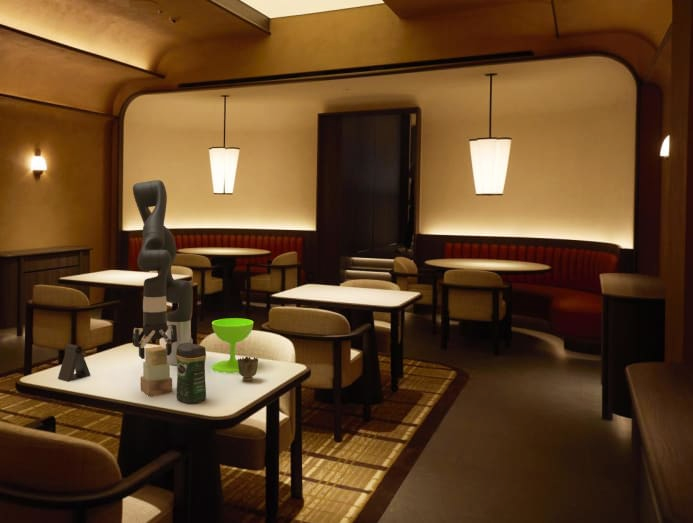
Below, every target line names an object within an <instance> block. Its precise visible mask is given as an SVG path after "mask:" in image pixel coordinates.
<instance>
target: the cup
mask: <svg viewBox="0 0 693 523" xmlns="http://www.w3.org/2000/svg"><path fill="white" fill-rule="evenodd" d="M237 360H238V368H239V375H240V376H241V377H242V380H243V382H246V381H249V382H252V381H253V380H254V376H256V374H257V371H258V366H259V358H258V357H255V356H254V357H253V358H251V357H250V356H249V357H248V356H245V357H239V358H238V359H237Z"/></svg>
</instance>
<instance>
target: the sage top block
mask: <svg viewBox="0 0 693 523" xmlns="http://www.w3.org/2000/svg"><path fill="white" fill-rule="evenodd" d="M142 364H143V366H142V368H143V374H142V376H144V377H145V378H146V379H147V381H148V382H149V381H156V380H164V379H170V377H171V376H170V372H171V371H170V370H171V368H170V367H171V364H169V363H168V362H167V364H163V365H157V366H150V365H148V364H147V363H145V361H143V363H142Z"/></svg>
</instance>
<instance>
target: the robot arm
mask: <svg viewBox="0 0 693 523" xmlns="http://www.w3.org/2000/svg"><path fill="white" fill-rule="evenodd" d="M132 195H133V198H134V201H135V204H136V207H137V209H138V212H139V214H140V217H141V219H142V222H143V226H142V245H141V248H140V251H139V253H138V256H137V266H138V268H139V269H140V270H141V271H144V272H157V275H156V276H152V277H148V278H146V279H144V280H143V300H142V302H143V303H142V315H143V316H142V319H143V320H142V322H143V324H142V327H141V328H140V327H139V328H137V327H134V328H133V331H132V332H133V333H132V346H133V347H134V348H138V356H139V357H140V359H141V360H145V346H146V345H147V344H148V343H149V341H150V340H151V341H154V340H160V339H161V338H163V339H164V340H165V341H166V343H167V344H166V349H167V362H168V363H169V364H170V366H171V365H173V366H177V358H176V351H177V347H178V346H179V344H182V343H189V342H190V343H192V344H194V343H193V341H194V340H193V338H192V336H191V333H192V332H191V331H192V330H191V325H192V324H191V323H192V318H191V317H192V311H193V293H194V292H193V290H194V289H193V285H192V283H191V282H190V281H189V280H184V279H183V280H181V279H174V278H173V274H172V266H173V263H174V261H175V259H176V257H177V251H178V248H177V244H176V242H175V238H174V235H173V233H172V232H171V231H170V229H169V228H167V227H166V226H165V219H166V212H167V203H168V196H167V195H168V194H167V188H166V186H165V184H164V182H163V181H162V180H159V179H155V180H154V179H153V180H149V181H142V182H138V183H134V184H133V186H132ZM151 207H152V208H153V207H154V208H153V210H152V211H151V210H150V208H151ZM168 303H169V304H177V309H176V310H172V311H170V312H168V311H167V310H168V305H167V304H168ZM166 332H167V335H166V334H165V333H166ZM142 333H143V336H142V337H141V340H140V335H142ZM139 340H140V341H139Z"/></svg>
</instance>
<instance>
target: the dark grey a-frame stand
mask: <svg viewBox="0 0 693 523" xmlns="http://www.w3.org/2000/svg"><path fill="white" fill-rule="evenodd" d="M83 350H84V349H83V347H82V346H81V345H78V344H73V343H67V344H65V346H64V351H65V352H64V355H63V356H64V357H63V359H62V363H61V366H60V370H59V373H58V375H57V379H58V380H61V381H65V382H69V383H70V382H73V381H77V380H80V379H84V378H85V379H86V378H88V377H91V373H90V369H89V368H88V365H87V362H86V360H85V359H86V358H85V356H84V353H83Z"/></svg>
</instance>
